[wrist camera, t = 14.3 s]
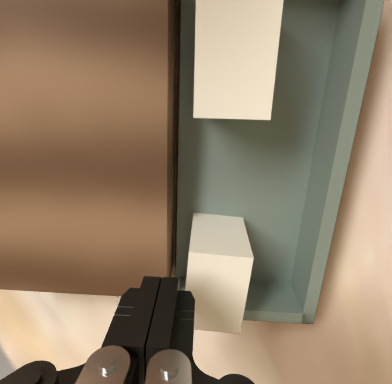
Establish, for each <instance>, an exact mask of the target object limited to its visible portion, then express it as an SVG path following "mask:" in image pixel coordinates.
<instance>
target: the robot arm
mask: <svg viewBox="0 0 392 384" xmlns="http://www.w3.org/2000/svg"><path fill="white" fill-rule="evenodd" d="M179 283H180V279H179V278H174V277H156V276H144V277H143V280H142V283H141V286H140V288H129V289H128V290H127V291H126V292H125V293H124V294H123V295H122V297H121V299H120V302H119V304H118V307H117V309H116V312H115V316H114V317H113V319H112V322H111V324H110V327H109V329H108V332H107V334H106V337H105V339H104V342H103V344H102V347H101V348H100V349H98V350H97V351H95V352H94V353H93V354H92V355H91V356H90V357H89V358H88V360H87V362H86V363H85V364H83V365H80V366H77V367H74V368H69V369H65V370H61V371H57V370H56V368H55V366H54V365H53V364H52V363H50V362H48V361H34V362H31V363H28V364H26V365H24V366H22V367H21V368H19V369H18V370H16V371H14V372H13V373H11V374H10V375H8V376H6V377H5V378H3V379H2V380H0V384H254V383H253V382H252V381H251V380H250V379H249V378H247V377H245V376H243V375H239V374H228V375H225V376H224V377H222V378H221V379H219V380H218V379H216V378H213V377H211V376H209V375H207V374H205V373H203V372H202V371H201V370H200V369H199V368H198V367H197V366H196V364H195V362H194V360H193V356H192V351H193V333H194V314H195V299H194V297H193V295H192V293H191V291H182V290H179Z"/></svg>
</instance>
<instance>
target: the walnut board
mask: <svg viewBox="0 0 392 384" xmlns="http://www.w3.org/2000/svg"><path fill="white" fill-rule="evenodd" d="M175 33H176V0H0V289H5V290H22V291H39V292H56V293H73V294H91V295H108V296H122V295H123V294H124V293H125V292H126V291H127V290H128V289H129V288H140V286H141V283H142V280H143V277H144V276H156V277H171V273H172V262H173V186H174V109H175Z"/></svg>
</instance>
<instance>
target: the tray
mask: <svg viewBox="0 0 392 384" xmlns="http://www.w3.org/2000/svg"><path fill="white" fill-rule="evenodd" d="M383 5H384V0H284V1H283V10H282V19H281V28H280V37H279V47H278V56H277V65H276V74H275V83H274V93H273V102H272V111H271V120H251V119H218V118H193V110H194V65H195V20H196V0H181V31H180V86H179V141H178V196H177V251H176V278H179V279H180V283H179V290H182V291H185V288H186V277H187V266H188V255H189V246H190V238H191V229H192V221H193V213H203V214H213V215H223V216H233V217H243V220H244V224H245V227H246V231H247V235H248V239H249V242H250V246H251V250H252V254H253V257H254V260H253V265H252V271H251V276H250V282H249V287H248V293H247V298H246V304H245V309H244V315H243V320H253V321H270V322H286V323H303V324H313V323H314V318H315V314H316V309H317V305H318V300H319V296H320V291H321V287H322V282H323V277H324V273H325V268H326V264H327V259H328V255H329V250H330V246H331V241H332V237H333V232H334V227H335V223H336V218H337V214H338V209H339V205H340V200H341V196H342V191H343V187H344V182H345V177H346V173H347V168H348V164H349V159H350V155H351V150H352V146H353V141H354V137H355V132H356V127H357V123H358V118H359V114H360V109H361V105H362V100H363V96H364V91H365V87H366V82H367V77H368V73H369V68H370V64H371V59H372V55H373V50H374V46H375V41H376V37H377V32H378V27H379V23H380V18H381V14H382V9H383Z"/></svg>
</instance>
